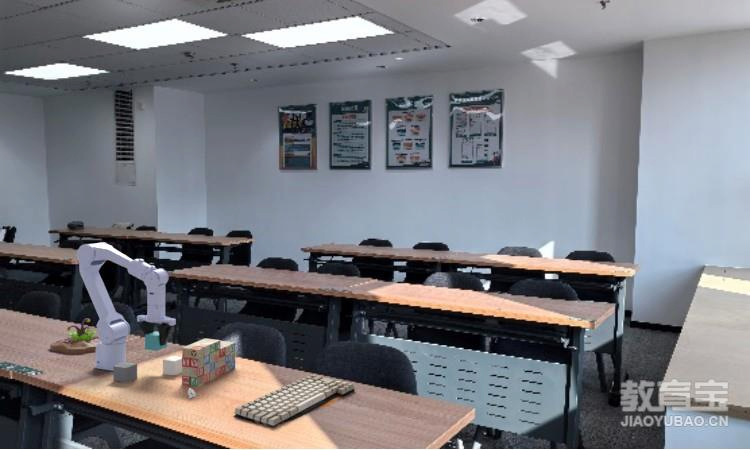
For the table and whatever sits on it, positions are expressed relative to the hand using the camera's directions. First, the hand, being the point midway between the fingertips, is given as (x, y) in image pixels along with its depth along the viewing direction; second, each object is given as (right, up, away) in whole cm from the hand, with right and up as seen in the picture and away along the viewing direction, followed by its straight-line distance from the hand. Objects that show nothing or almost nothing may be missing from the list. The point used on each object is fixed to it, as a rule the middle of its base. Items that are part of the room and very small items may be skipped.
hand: (156, 344), depth 194 cm
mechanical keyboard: (+52, -13, -25) cm, 59 cm away
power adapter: (+21, -12, -22) cm, 33 cm away
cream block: (+6, -10, -1) cm, 12 cm away
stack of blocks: (+19, -10, -3) cm, 22 cm away
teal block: (0, -1, 0) cm, 1 cm away
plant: (-40, -8, +28) cm, 49 cm away
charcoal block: (-7, -10, -9) cm, 15 cm away
